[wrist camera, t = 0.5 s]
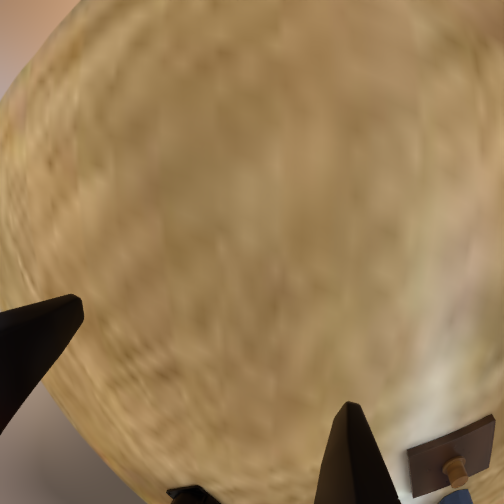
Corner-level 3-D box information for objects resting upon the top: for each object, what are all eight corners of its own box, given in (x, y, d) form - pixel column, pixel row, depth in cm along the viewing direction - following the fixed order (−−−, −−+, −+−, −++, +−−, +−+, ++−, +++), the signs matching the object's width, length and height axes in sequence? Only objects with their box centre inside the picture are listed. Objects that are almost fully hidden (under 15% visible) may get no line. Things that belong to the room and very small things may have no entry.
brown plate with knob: (411, 491, 24) (415, 516, 20) (406, 449, 24) (413, 477, 20) (485, 461, 22) (495, 483, 18) (491, 413, 21) (506, 436, 17)
